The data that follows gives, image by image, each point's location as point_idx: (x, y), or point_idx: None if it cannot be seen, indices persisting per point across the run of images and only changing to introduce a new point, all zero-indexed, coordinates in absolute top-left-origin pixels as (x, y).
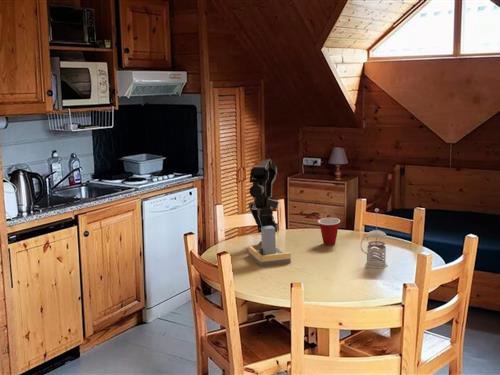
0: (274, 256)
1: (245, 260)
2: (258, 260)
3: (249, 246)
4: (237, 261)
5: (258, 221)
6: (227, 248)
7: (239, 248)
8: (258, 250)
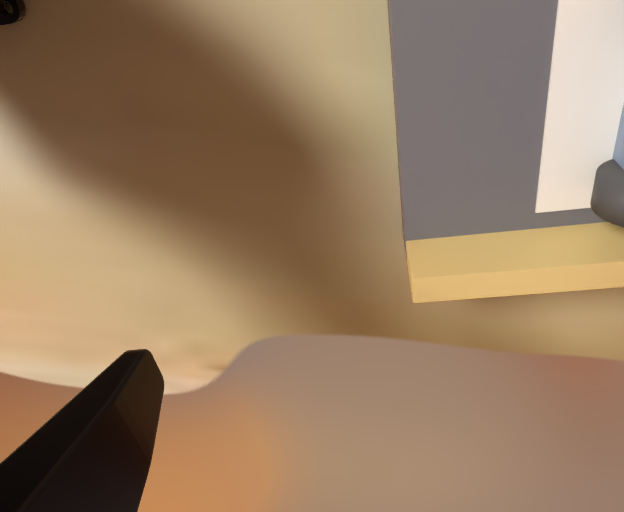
0: None
1: None
2: None
3: (436, 297)
4: (547, 341)
5: (124, 413)
6: None
7: (141, 275)
8: (413, 163)
